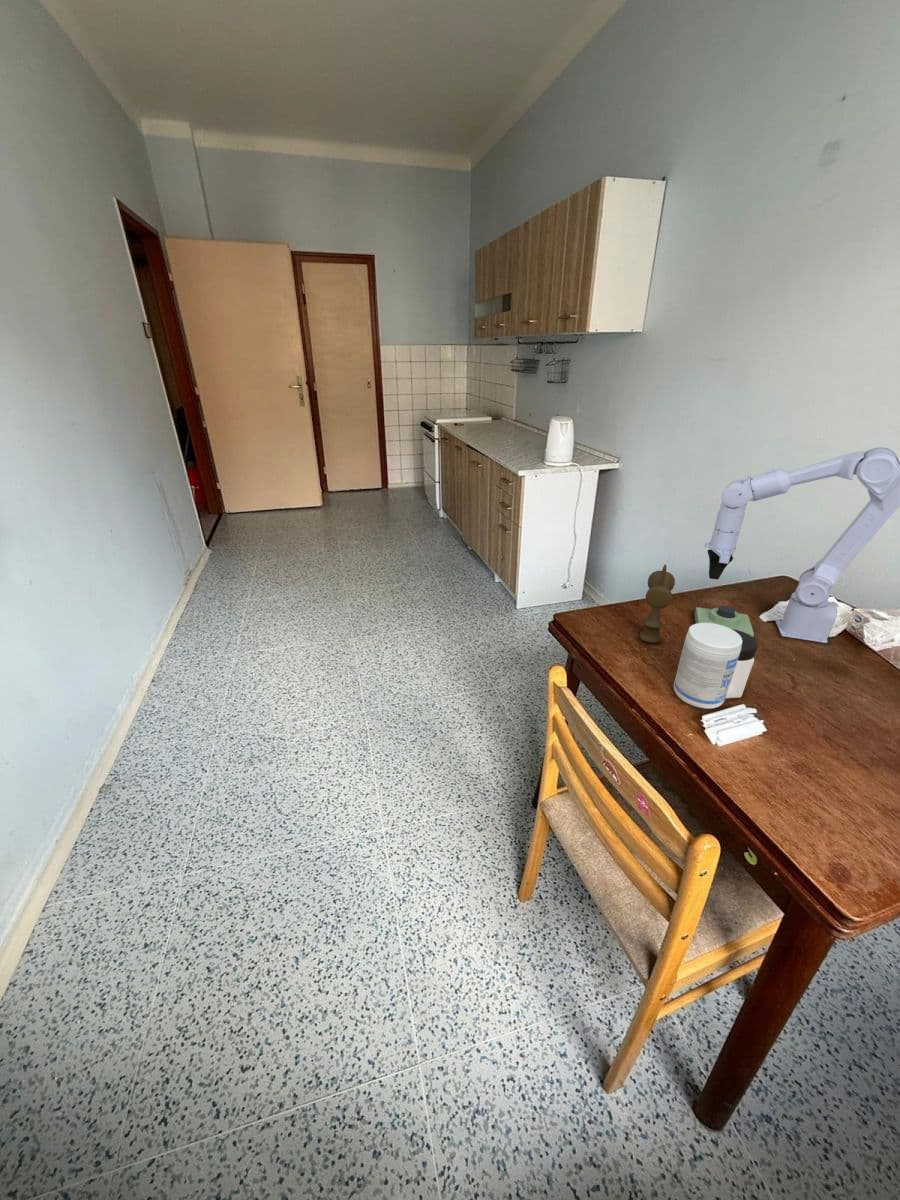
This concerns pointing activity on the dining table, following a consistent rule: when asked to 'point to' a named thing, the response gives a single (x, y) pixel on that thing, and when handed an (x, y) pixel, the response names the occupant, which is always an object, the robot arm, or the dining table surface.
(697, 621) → the green button box
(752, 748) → the dining table surface
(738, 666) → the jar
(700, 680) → the supplement tub
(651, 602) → the kendama
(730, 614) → the push button
